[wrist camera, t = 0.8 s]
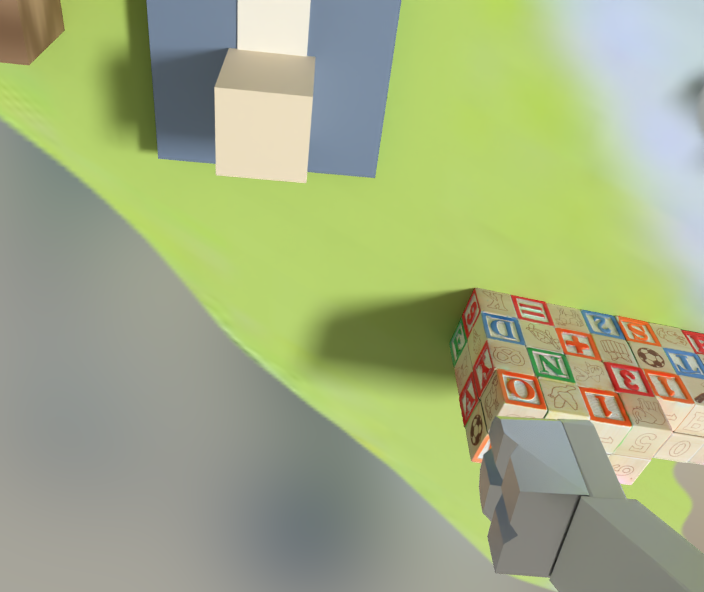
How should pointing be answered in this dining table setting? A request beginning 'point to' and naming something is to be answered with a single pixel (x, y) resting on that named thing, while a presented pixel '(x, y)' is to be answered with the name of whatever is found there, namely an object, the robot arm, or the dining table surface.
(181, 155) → the board
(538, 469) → the robot arm
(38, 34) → the walnut beam
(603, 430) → the stack of blocks
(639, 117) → the dining table surface
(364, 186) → the dining table surface
